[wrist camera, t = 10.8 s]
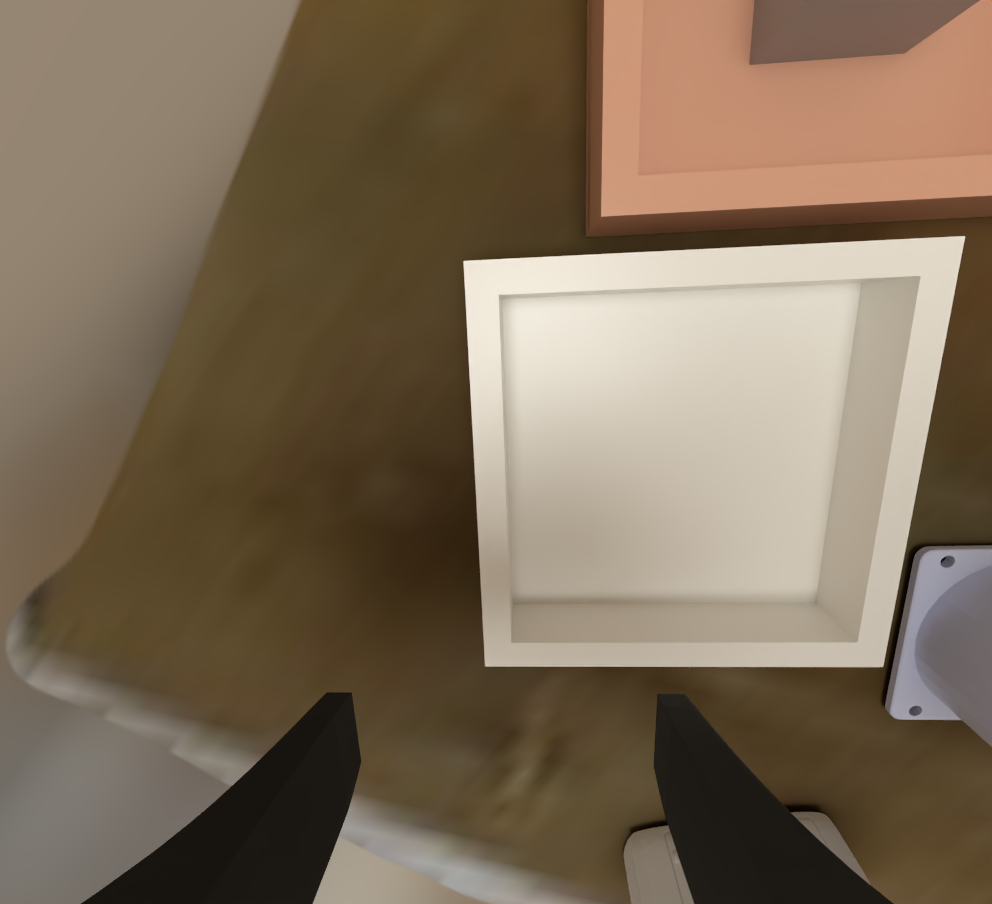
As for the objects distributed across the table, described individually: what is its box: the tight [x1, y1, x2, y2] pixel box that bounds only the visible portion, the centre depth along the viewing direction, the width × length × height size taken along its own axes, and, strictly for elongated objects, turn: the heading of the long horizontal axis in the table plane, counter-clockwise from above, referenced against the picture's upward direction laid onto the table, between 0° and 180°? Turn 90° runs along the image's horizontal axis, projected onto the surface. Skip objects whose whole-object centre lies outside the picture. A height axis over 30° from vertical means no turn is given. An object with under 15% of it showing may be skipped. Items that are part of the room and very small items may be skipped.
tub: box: [464, 236, 965, 667], centre depth 17 cm, size 14×14×4 cm
